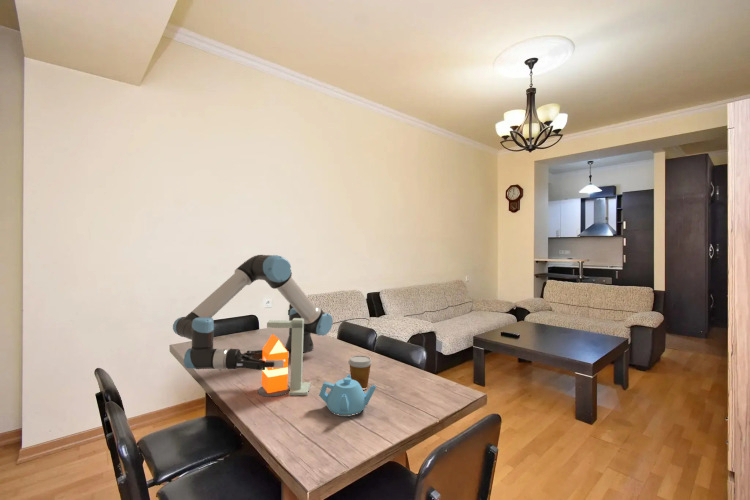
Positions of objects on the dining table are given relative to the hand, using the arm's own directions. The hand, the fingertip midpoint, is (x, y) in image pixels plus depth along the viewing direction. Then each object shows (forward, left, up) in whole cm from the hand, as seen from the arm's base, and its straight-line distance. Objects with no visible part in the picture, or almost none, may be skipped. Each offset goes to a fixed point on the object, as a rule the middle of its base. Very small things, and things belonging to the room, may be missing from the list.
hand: (286, 359), depth 137 cm
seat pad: (+4, -2, -12) cm, 13 cm away
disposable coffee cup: (-26, +13, -12) cm, 32 cm away
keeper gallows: (-1, 0, -12) cm, 12 cm away
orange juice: (+4, -2, -11) cm, 12 cm away
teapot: (-13, +26, -12) cm, 32 cm away
